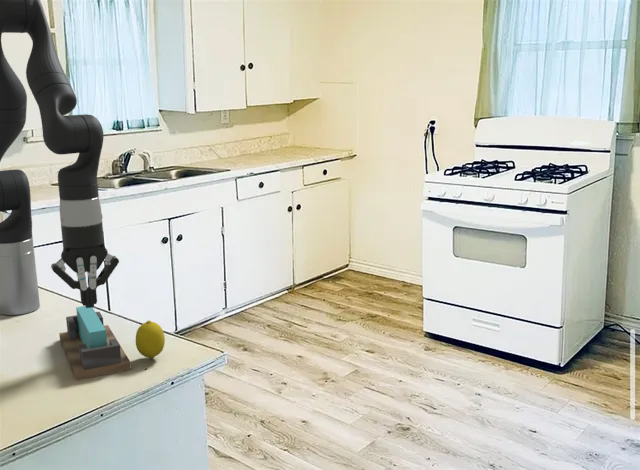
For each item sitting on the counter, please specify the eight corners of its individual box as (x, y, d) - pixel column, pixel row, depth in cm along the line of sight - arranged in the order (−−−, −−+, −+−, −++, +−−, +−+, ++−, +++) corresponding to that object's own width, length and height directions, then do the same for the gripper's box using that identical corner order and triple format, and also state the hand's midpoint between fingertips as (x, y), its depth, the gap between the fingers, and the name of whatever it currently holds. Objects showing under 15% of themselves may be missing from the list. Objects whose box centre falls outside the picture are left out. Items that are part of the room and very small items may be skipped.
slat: (78, 334, 143) (76, 307, 142) (93, 331, 145) (91, 305, 143) (92, 362, 130) (89, 332, 128) (108, 359, 131) (105, 329, 129)
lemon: (151, 367, 131) (148, 327, 129) (130, 360, 134) (128, 322, 132) (171, 357, 135) (169, 319, 134) (151, 351, 138) (149, 313, 136)
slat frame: (59, 339, 144) (57, 317, 143) (108, 331, 149) (106, 309, 148) (75, 380, 125) (73, 354, 124) (131, 369, 130) (129, 344, 129)
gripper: (113, 213, 137) (119, 296, 141) (42, 220, 131) (51, 306, 135) (120, 220, 131) (127, 306, 135) (47, 228, 125) (56, 318, 129)
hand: (89, 306), depth 135 cm, fingers closed
